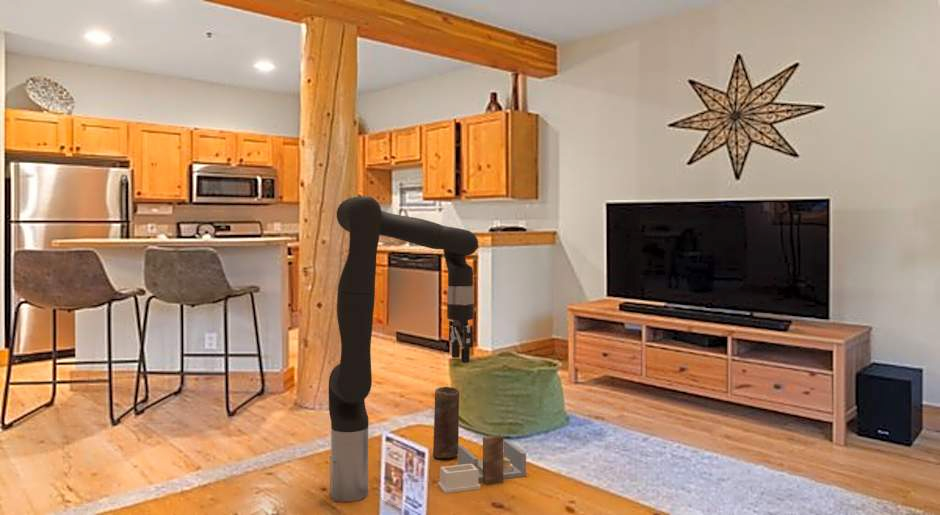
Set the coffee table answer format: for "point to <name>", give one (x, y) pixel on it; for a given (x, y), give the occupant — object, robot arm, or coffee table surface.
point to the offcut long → (505, 469)
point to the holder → (458, 478)
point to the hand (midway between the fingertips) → (460, 360)
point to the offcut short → (506, 462)
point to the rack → (510, 452)
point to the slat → (492, 459)
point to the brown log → (446, 422)
